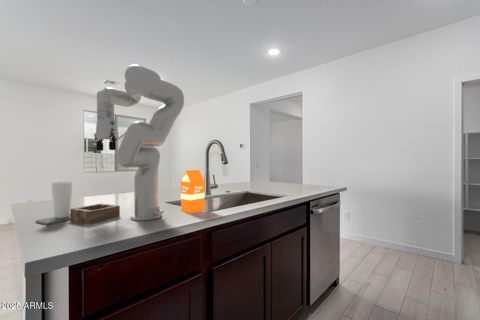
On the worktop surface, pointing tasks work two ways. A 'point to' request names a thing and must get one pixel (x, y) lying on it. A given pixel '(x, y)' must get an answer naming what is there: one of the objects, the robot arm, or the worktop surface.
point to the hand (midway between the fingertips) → (106, 150)
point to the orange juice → (192, 191)
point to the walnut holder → (95, 213)
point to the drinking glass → (61, 199)
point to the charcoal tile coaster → (52, 220)
